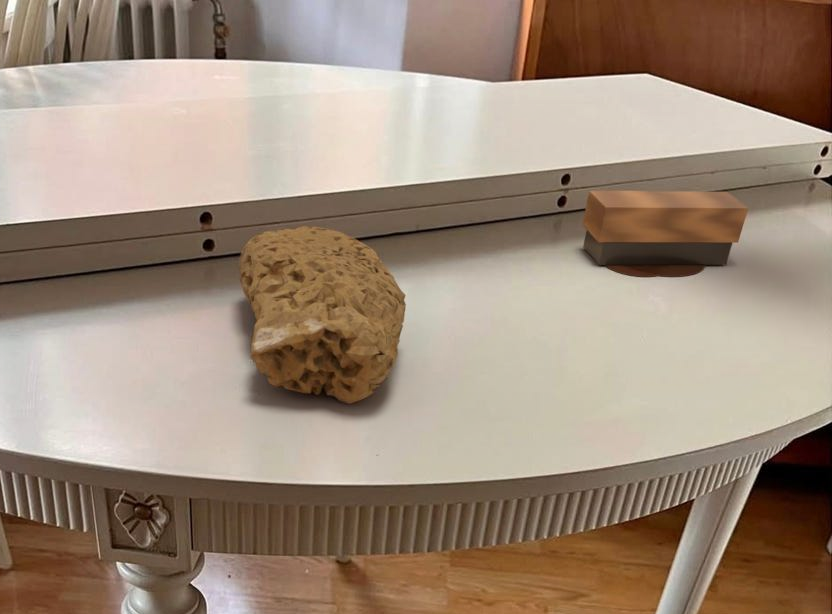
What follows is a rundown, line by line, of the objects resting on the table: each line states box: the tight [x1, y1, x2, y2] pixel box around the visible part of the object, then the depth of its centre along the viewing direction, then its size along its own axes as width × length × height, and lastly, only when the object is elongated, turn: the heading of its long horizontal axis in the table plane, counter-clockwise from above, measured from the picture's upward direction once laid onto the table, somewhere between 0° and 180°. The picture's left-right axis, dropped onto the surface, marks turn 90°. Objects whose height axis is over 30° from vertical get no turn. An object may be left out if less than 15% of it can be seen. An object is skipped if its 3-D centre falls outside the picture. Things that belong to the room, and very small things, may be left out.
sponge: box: [238, 225, 407, 405], centre depth 71 cm, size 13×8×20 cm
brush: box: [582, 190, 749, 266], centre depth 89 cm, size 13×4×5 cm, turn 98°
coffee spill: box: [603, 265, 706, 278], centre depth 90 cm, size 11×9×1 cm
